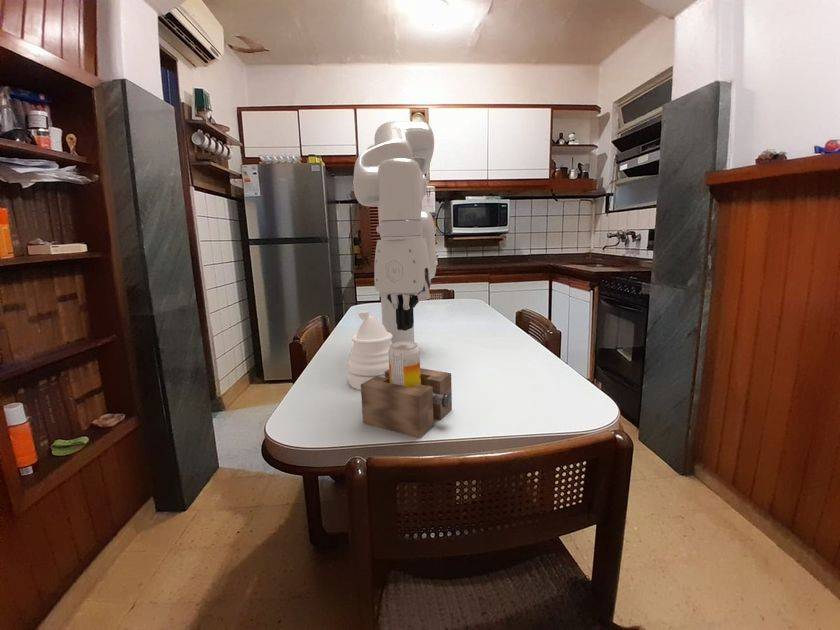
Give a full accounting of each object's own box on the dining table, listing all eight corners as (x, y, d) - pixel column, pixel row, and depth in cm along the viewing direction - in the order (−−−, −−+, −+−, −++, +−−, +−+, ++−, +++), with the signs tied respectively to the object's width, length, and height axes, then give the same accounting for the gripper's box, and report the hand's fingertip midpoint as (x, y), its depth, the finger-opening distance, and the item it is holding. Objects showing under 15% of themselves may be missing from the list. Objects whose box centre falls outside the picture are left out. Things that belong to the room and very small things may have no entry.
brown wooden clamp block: (363, 422, 79) (360, 384, 77) (399, 398, 90) (397, 364, 88) (420, 438, 72) (419, 396, 71) (451, 409, 83) (451, 373, 81)
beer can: (426, 412, 82) (423, 341, 79) (415, 425, 77) (411, 350, 74) (399, 408, 85) (396, 339, 81) (386, 421, 79) (382, 348, 76)
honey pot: (361, 395, 92) (356, 318, 88) (341, 379, 103) (336, 310, 99) (410, 382, 99) (407, 311, 95) (385, 368, 109) (382, 304, 106)
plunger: (421, 405, 77) (420, 392, 77) (427, 400, 79) (427, 387, 79) (445, 410, 74) (445, 397, 74) (451, 405, 77) (451, 392, 76)
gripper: (356, 232, 74) (362, 329, 78) (426, 230, 66) (429, 337, 70) (380, 232, 80) (384, 321, 84) (447, 229, 73) (448, 328, 76)
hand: (405, 328), depth 77 cm, fingers closed
